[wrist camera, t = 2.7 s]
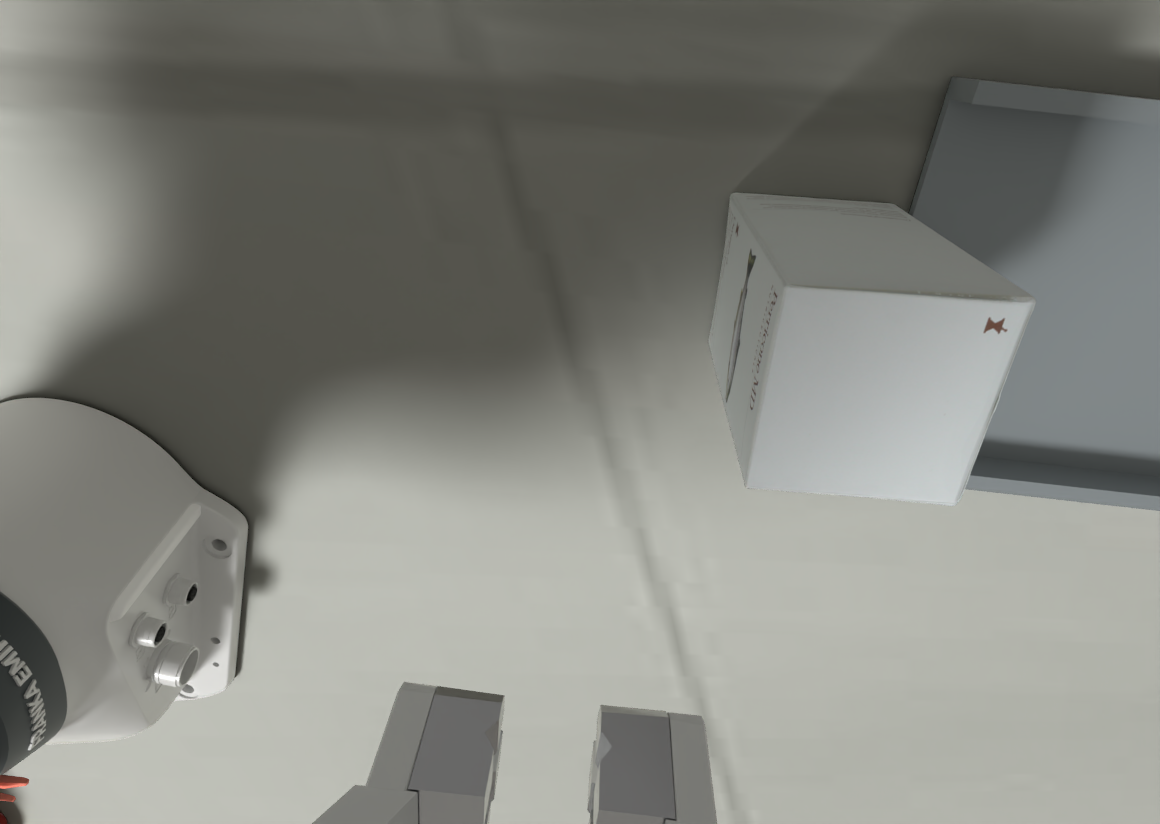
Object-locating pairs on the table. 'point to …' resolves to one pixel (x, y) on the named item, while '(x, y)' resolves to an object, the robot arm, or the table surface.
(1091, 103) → the tray
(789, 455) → the supplement box
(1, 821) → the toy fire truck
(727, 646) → the table surface
